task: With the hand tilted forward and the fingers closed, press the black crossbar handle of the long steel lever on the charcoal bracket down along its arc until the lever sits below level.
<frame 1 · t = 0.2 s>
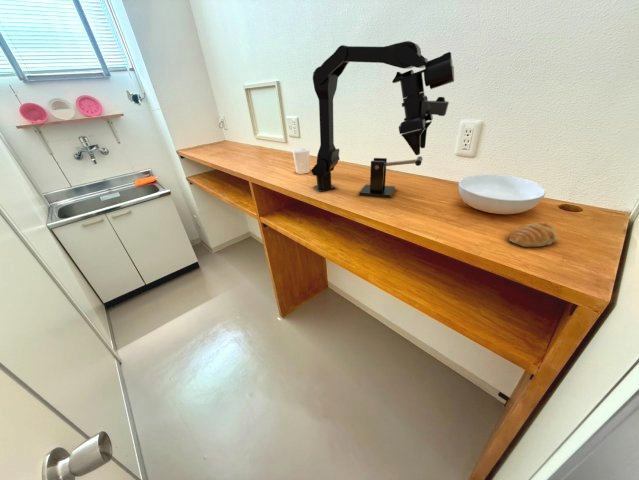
hand: (420, 151, 77), 15 cm above the table, tool pointing down, fingers open, 9 cm apart
serving bowl: (492, 207, 76), on the table
bracket: (377, 192, 92), on the table
pastry: (530, 241, 59), on the table
white cup: (303, 172, 122), on the table
lever: (397, 163, 84), point 11 cm above the table, hinge at 8.0°
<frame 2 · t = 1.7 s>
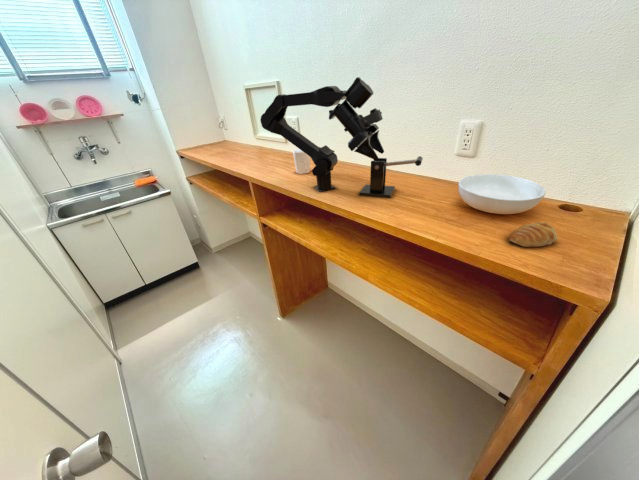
hand: (380, 155, 85), 13 cm above the table, tool tilted 45°, fingers open, 9 cm apart
nothing on the table moved.
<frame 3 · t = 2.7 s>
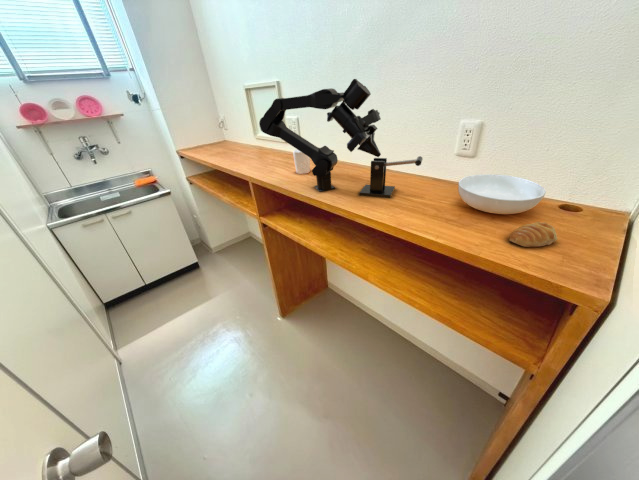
hand: (379, 155, 85), 13 cm above the table, tool tilted 45°, fingers closed
nothing on the table moved.
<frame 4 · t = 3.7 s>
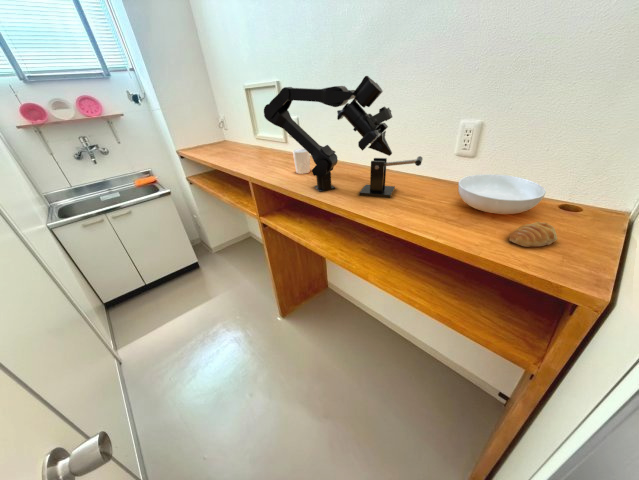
hand: (390, 154, 84), 14 cm above the table, tool tilted 45°, fingers closed
nothing on the table moved.
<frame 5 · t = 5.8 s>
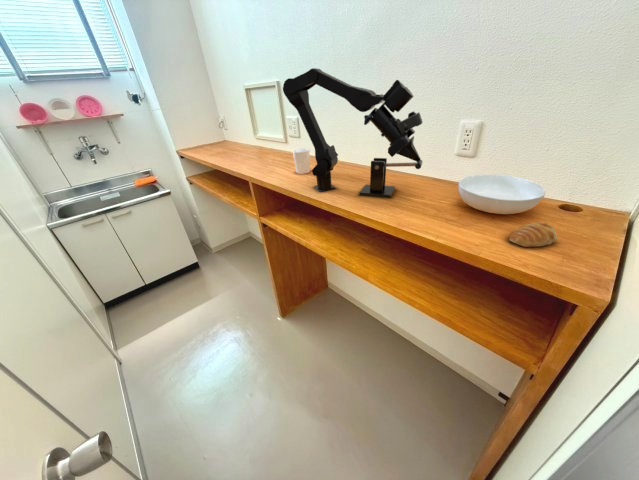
hand: (419, 160, 81), 12 cm above the table, tool tilted 45°, fingers closed
lever: (397, 164, 84), point 10 cm above the table, hinge at 3.4°
everything else where it was.
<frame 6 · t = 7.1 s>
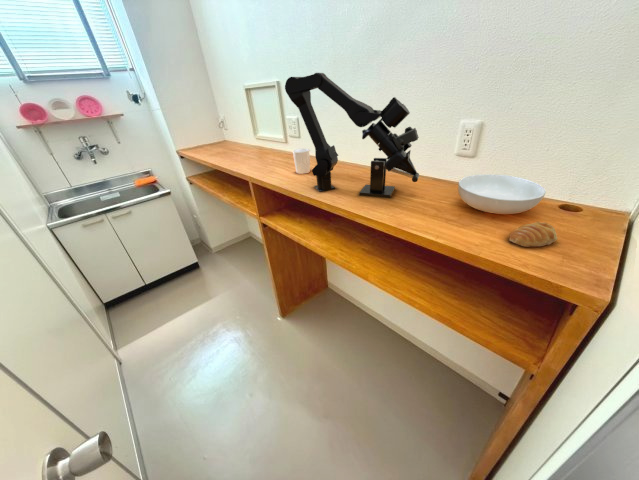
hand: (415, 174, 84), 8 cm above the table, tool tilted 45°, fingers closed, pressing on lever
lever: (396, 170, 86), point 8 cm above the table, hinge at -15.8°, touching gripper
everything else where it was.
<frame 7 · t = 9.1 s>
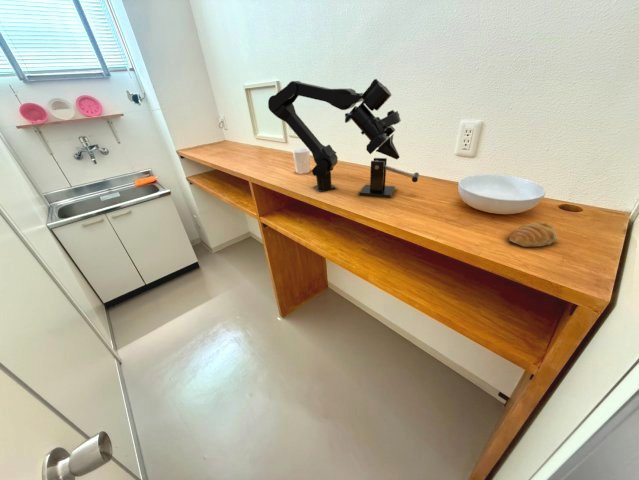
hand: (398, 158, 83), 12 cm above the table, tool tilted 45°, fingers closed
lever: (396, 170, 86), point 8 cm above the table, hinge at -16.0°
everything else where it was.
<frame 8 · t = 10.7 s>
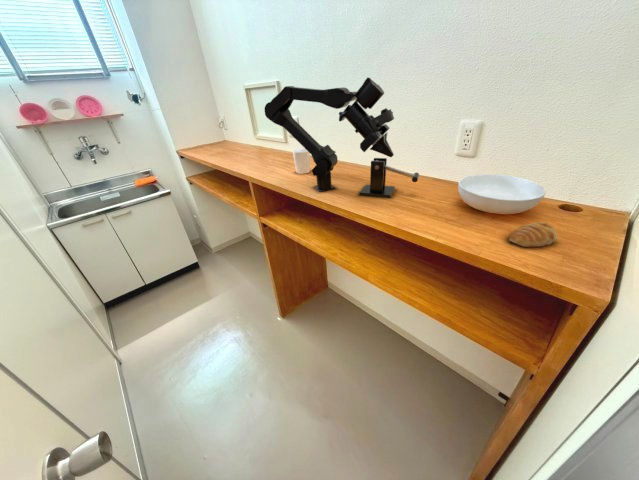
hand: (392, 156, 84), 13 cm above the table, tool tilted 45°, fingers closed
nothing on the table moved.
at the end: lever at -16° (first picture: +8°); lever reached -16° during the clip, -16° at the end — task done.
